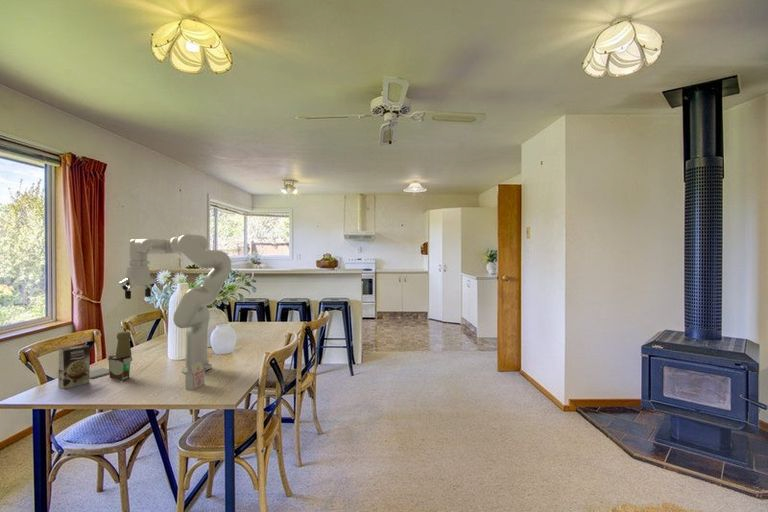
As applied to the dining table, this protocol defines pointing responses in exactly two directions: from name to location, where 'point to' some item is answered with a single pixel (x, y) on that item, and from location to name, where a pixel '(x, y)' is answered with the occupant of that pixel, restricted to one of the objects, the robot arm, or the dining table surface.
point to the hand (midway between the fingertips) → (138, 297)
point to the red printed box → (195, 376)
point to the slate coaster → (98, 373)
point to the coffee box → (74, 366)
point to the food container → (119, 367)
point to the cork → (123, 345)
